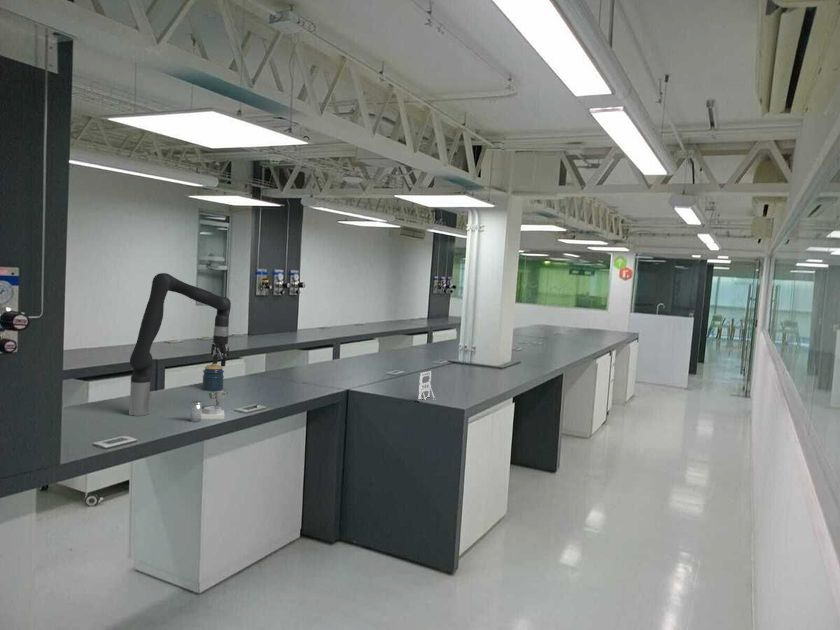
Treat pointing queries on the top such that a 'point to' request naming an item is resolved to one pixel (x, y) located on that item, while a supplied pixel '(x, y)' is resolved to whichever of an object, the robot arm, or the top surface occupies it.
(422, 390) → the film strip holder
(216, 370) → the canister
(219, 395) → the mechanical component
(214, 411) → the flange plate
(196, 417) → the clear glass jar
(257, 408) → the top surface
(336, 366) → the top surface
